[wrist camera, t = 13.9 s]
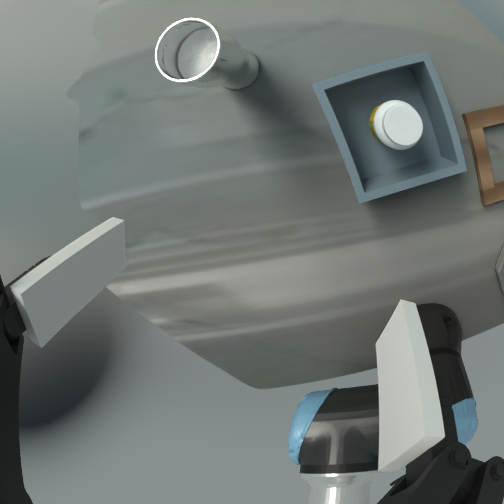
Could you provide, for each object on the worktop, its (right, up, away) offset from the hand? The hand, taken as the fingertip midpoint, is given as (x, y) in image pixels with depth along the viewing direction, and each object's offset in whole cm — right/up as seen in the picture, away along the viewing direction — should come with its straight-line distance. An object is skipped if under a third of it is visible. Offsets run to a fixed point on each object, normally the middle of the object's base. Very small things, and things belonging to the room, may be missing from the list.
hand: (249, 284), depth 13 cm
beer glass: (-2, +26, +21) cm, 33 cm away
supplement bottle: (+17, +17, +18) cm, 30 cm away
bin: (+17, +18, +19) cm, 31 cm away
